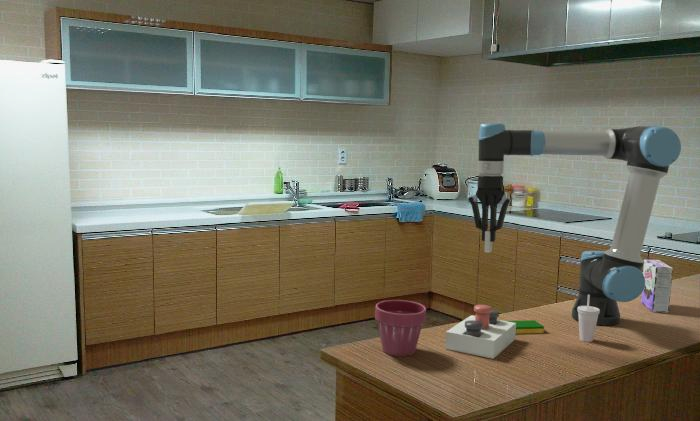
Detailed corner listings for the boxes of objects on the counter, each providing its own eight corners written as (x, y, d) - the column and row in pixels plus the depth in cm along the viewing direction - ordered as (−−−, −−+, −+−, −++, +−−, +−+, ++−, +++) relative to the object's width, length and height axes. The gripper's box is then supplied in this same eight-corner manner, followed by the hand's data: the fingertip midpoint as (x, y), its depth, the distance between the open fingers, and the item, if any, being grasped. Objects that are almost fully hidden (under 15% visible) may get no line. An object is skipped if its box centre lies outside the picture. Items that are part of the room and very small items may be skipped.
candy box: (639, 302, 239) (643, 258, 237) (656, 303, 238) (660, 259, 236) (651, 312, 225) (655, 266, 223) (669, 313, 224) (673, 267, 222)
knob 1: (484, 343, 182) (485, 322, 181) (478, 347, 178) (479, 326, 177) (467, 339, 184) (468, 319, 184) (461, 344, 180) (462, 323, 179)
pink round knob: (493, 326, 187) (494, 306, 187) (487, 330, 183) (488, 310, 182) (476, 323, 190) (477, 303, 189) (470, 327, 186) (471, 307, 185)
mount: (515, 339, 192) (516, 323, 191) (493, 358, 175) (494, 340, 174) (470, 330, 199) (471, 315, 199) (445, 348, 182) (445, 331, 182)
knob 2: (500, 330, 194) (501, 311, 193) (494, 334, 189) (495, 315, 189) (484, 327, 196) (485, 308, 196) (478, 331, 192) (479, 312, 191)
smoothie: (571, 339, 193) (574, 294, 191) (580, 335, 198) (583, 290, 196) (592, 344, 189) (595, 298, 187) (601, 340, 193) (604, 294, 192)
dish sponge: (544, 334, 199) (544, 326, 199) (501, 335, 197) (502, 327, 197) (534, 327, 206) (534, 320, 206) (493, 328, 204) (493, 320, 204)
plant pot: (432, 357, 175) (434, 311, 173) (383, 361, 171) (385, 314, 169) (412, 340, 188) (414, 298, 187) (367, 344, 184) (368, 300, 183)
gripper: (465, 174, 194) (463, 251, 197) (508, 176, 188) (505, 256, 191) (473, 173, 201) (471, 248, 204) (515, 175, 195) (512, 251, 198)
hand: (488, 251), depth 197 cm, fingers closed
